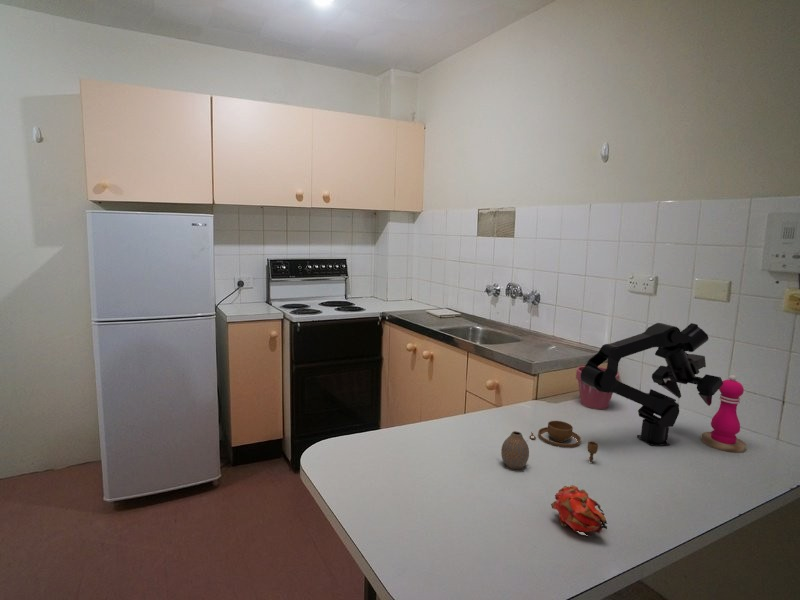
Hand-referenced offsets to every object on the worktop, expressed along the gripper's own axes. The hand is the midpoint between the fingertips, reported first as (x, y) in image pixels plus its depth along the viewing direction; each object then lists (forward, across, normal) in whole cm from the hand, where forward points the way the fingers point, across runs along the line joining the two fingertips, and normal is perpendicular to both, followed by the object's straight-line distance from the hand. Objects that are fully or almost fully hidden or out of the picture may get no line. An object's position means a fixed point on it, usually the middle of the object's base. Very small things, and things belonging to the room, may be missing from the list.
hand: (694, 400), depth 143 cm
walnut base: (+14, -5, +2) cm, 15 cm away
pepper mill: (+12, -6, +2) cm, 14 cm away
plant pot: (+4, +32, +11) cm, 34 cm away
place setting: (-14, +10, +42) cm, 46 cm away
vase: (-26, +4, +60) cm, 65 cm away
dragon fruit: (-26, -22, +64) cm, 73 cm away
